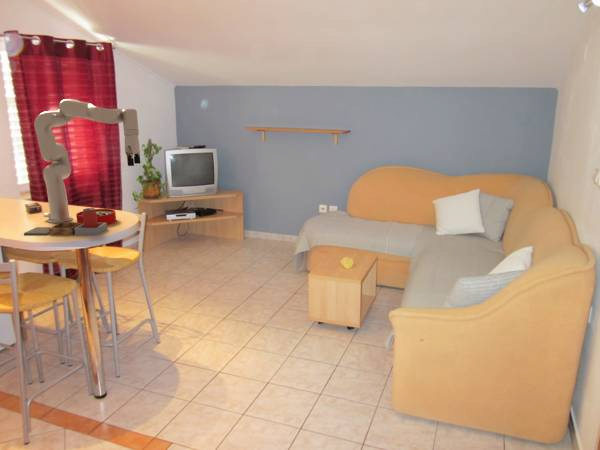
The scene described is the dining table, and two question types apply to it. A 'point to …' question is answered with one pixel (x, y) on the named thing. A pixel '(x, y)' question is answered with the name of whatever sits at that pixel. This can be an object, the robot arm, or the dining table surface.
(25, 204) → the dining table surface
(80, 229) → the slate frame
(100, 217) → the red round tin
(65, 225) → the walnut frame
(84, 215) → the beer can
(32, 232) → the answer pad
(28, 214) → the dining table surface
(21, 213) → the dining table surface
